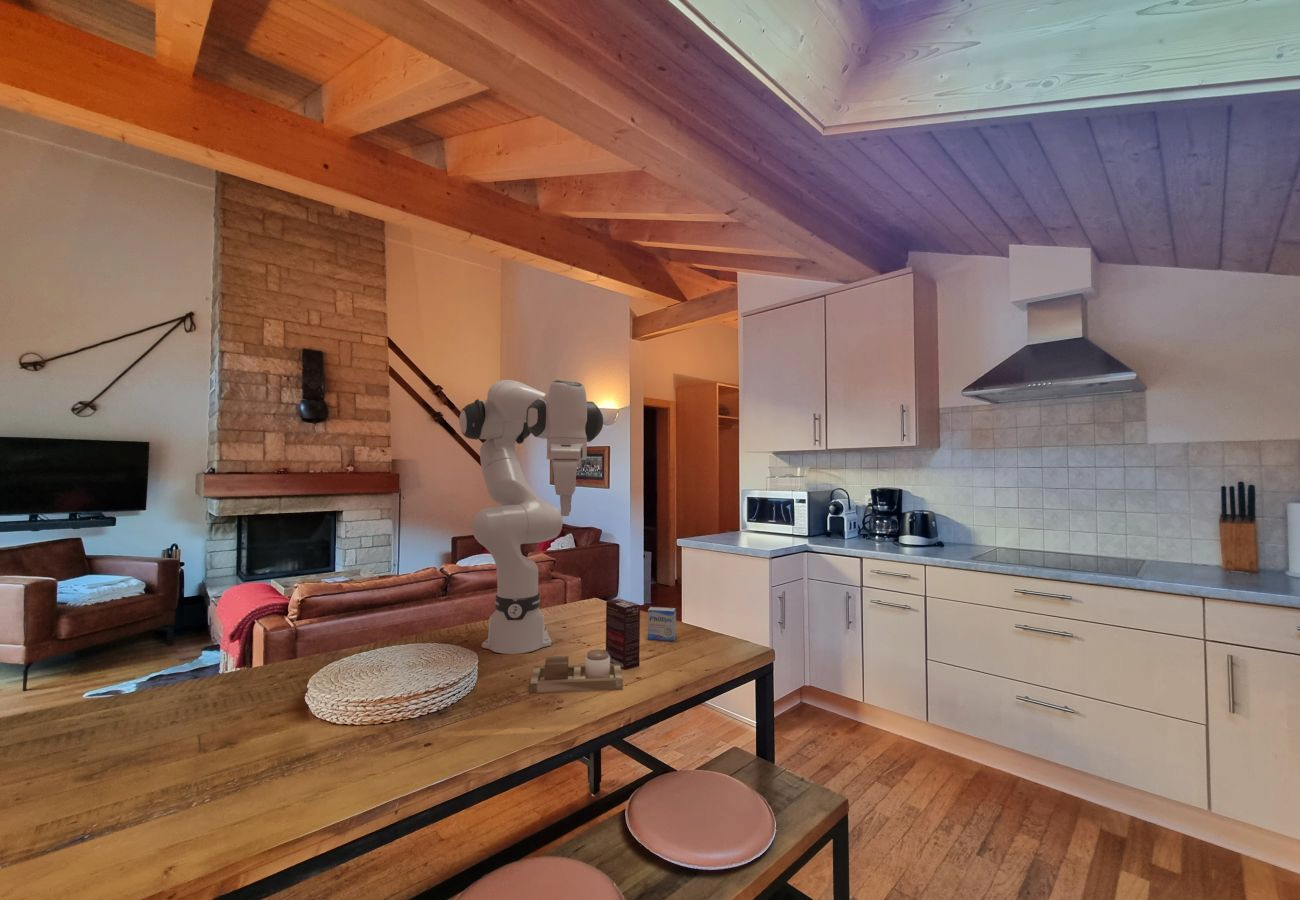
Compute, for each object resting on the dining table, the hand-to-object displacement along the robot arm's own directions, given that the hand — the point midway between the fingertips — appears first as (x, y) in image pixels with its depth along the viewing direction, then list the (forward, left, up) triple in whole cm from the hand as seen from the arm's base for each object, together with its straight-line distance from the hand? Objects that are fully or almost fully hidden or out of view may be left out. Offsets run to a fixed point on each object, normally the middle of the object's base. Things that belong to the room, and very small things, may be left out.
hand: (566, 514), depth 117 cm
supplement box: (-14, +14, -39) cm, 44 cm away
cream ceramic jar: (-3, +8, -38) cm, 39 cm away
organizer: (-3, +3, -39) cm, 39 cm away
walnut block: (-3, -2, -38) cm, 38 cm away
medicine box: (-35, +27, -39) cm, 59 cm away
